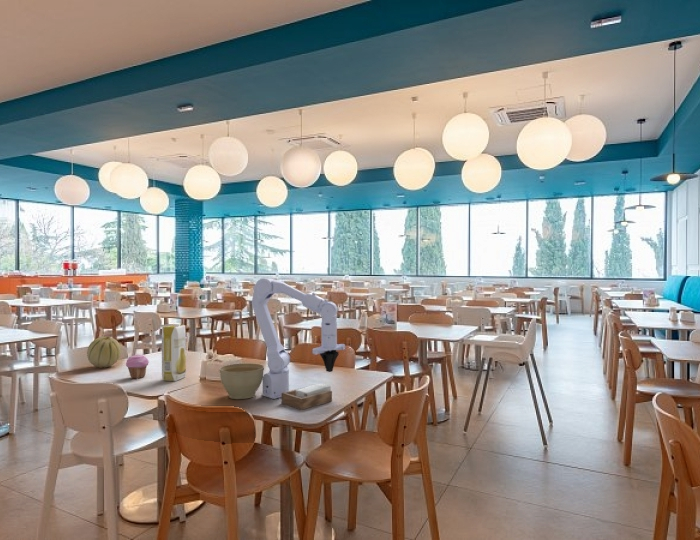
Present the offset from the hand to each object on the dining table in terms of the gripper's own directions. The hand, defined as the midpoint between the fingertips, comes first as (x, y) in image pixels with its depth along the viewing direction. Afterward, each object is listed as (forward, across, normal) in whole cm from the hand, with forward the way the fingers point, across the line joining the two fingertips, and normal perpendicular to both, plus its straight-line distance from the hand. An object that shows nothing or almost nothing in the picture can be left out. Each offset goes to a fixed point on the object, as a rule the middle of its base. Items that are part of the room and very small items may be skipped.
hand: (329, 371), depth 175 cm
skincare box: (+6, -2, 0) cm, 7 cm away
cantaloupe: (+9, -43, +114) cm, 122 cm away
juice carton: (+9, -29, +67) cm, 74 cm away
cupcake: (+9, -40, +81) cm, 90 cm away
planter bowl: (+9, -23, +23) cm, 34 cm away
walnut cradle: (+9, -11, 0) cm, 14 cm away
